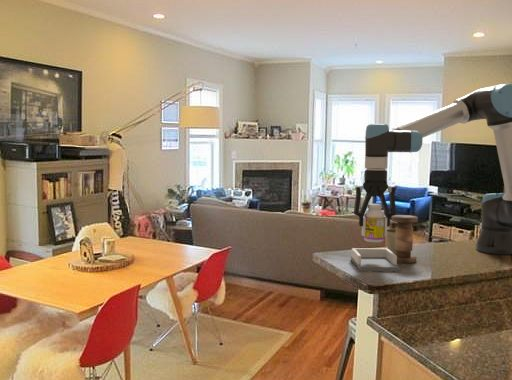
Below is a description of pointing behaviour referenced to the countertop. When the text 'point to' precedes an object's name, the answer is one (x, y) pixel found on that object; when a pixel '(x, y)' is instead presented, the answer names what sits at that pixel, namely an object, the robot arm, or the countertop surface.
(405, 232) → the spool post
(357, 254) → the grey shallow tray
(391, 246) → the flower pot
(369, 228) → the supplement bottle
